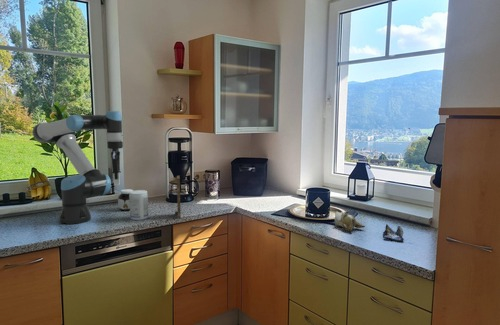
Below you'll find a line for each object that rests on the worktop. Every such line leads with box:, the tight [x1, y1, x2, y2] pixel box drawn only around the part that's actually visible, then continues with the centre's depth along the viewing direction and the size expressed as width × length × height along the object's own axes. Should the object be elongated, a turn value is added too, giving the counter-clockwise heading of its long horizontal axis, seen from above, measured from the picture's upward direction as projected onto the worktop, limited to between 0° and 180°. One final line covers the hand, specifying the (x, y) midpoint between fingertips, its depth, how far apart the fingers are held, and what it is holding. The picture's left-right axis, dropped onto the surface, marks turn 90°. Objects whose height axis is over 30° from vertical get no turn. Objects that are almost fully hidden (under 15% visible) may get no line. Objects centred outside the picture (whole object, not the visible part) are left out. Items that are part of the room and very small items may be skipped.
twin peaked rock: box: [382, 224, 404, 243], centre depth 169 cm, size 12×7×12 cm
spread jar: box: [117, 188, 134, 212], centre depth 221 cm, size 12×11×12 cm
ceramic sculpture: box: [334, 210, 366, 232], centre depth 183 cm, size 11×9×15 cm
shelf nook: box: [169, 175, 182, 220], centre depth 204 cm, size 5×10×22 cm, turn 11°
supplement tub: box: [129, 189, 150, 221], centre depth 200 cm, size 10×10×15 cm
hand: (117, 185), depth 197 cm, fingers closed
